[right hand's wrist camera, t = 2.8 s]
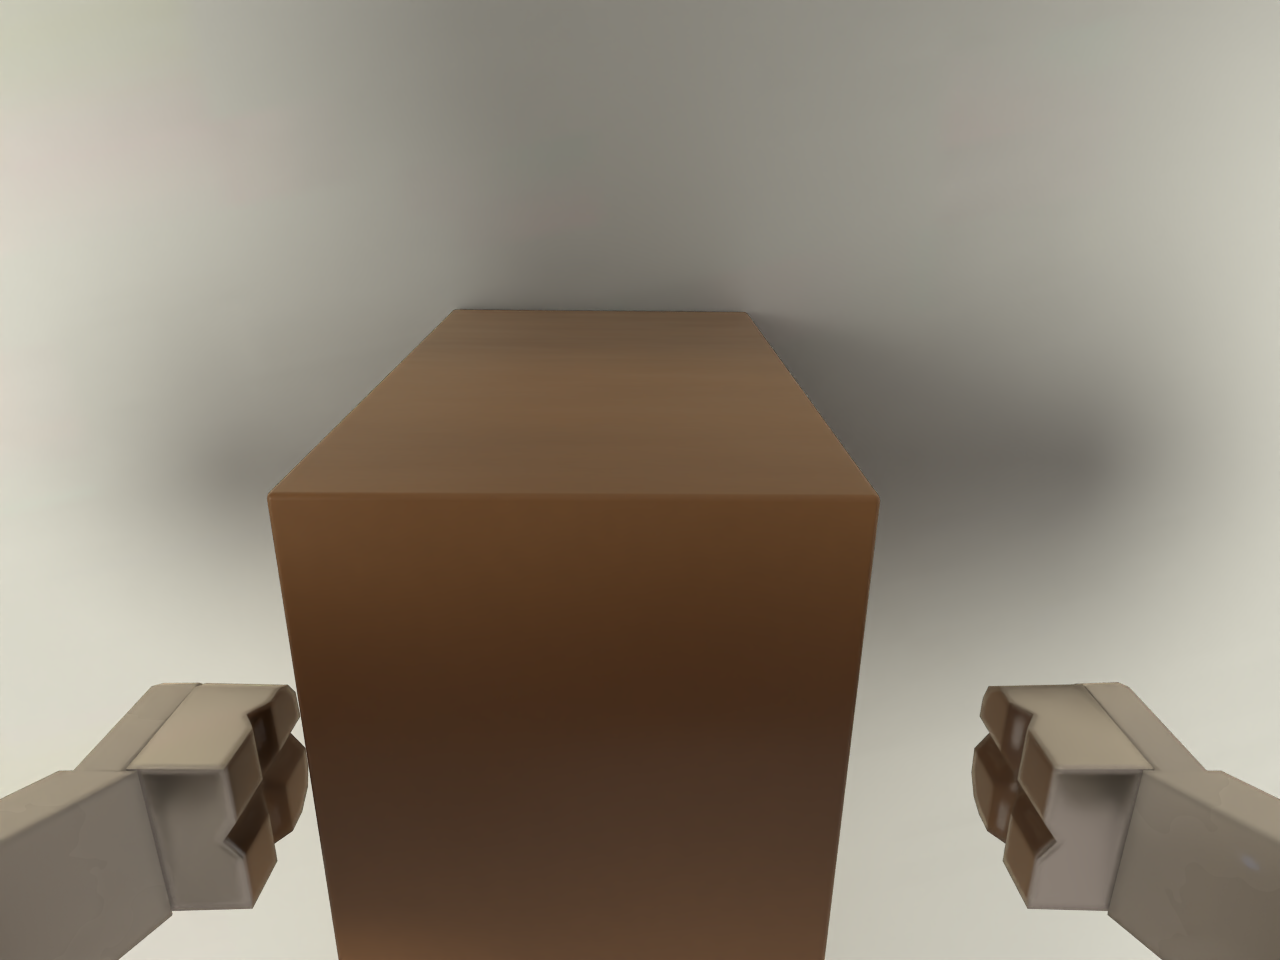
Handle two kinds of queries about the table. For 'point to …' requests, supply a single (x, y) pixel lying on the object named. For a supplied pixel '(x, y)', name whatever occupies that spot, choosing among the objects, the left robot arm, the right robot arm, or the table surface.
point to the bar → (579, 643)
